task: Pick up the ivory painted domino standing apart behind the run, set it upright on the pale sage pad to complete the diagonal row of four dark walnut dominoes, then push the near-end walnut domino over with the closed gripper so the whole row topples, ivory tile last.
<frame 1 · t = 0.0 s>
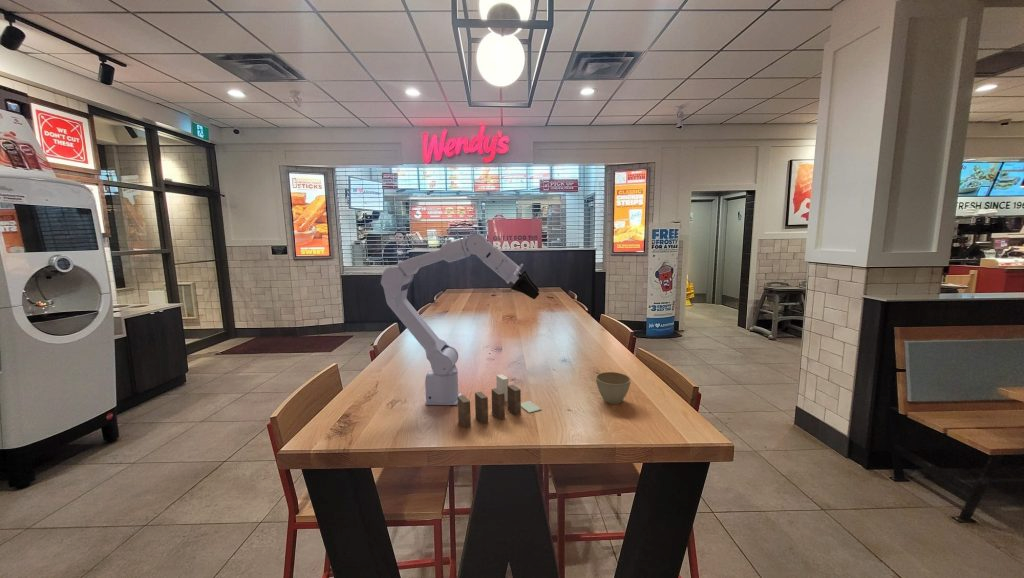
hand: (537, 294, 112), 32 cm above the table, tool tilted 50°, fingers open, 7 cm apart
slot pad: (529, 407, 112), on the table
domino 1: (464, 424, 102), on the table
domino 3: (498, 415, 107), on the table
flower pot: (612, 401, 115), on the table
domino 2: (481, 419, 105), on the table
domino 4: (514, 411, 109), on the table
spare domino: (502, 398, 118), on the table
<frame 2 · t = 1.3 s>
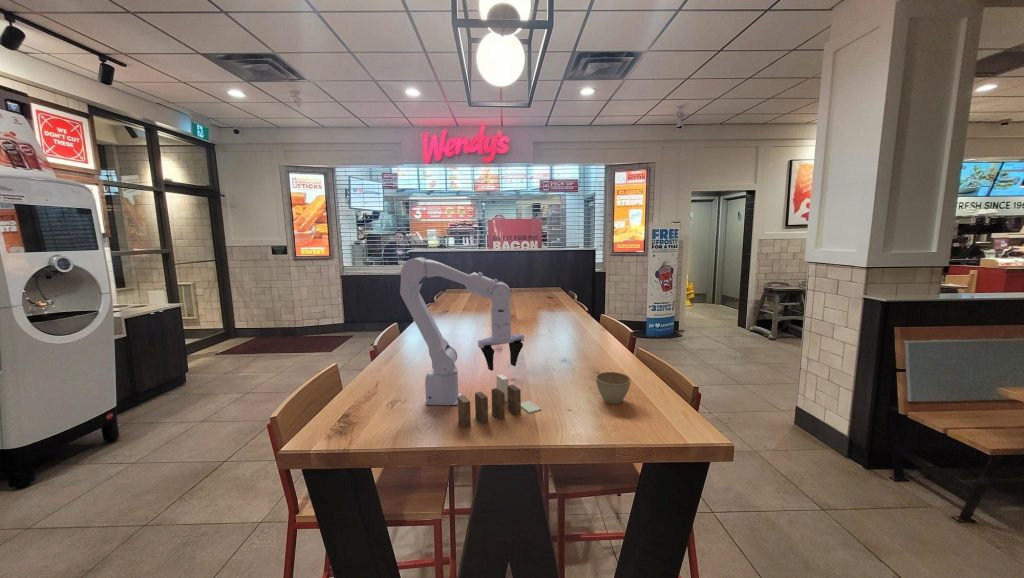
hand: (502, 367, 117), 10 cm above the table, tool pointing down, fingers open, 7 cm apart
nothing on the table moved.
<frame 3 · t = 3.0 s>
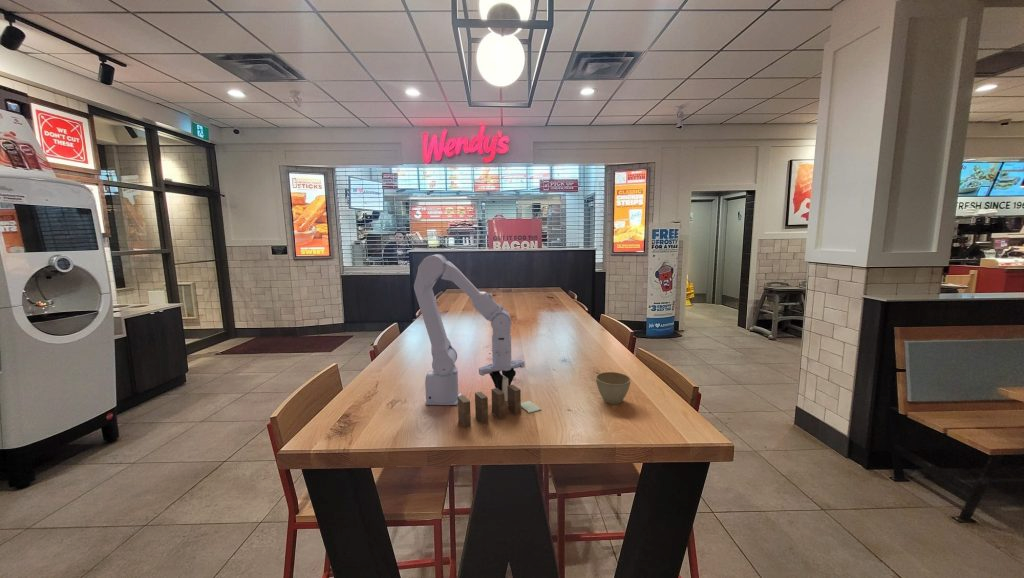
hand: (502, 393, 118), 2 cm above the table, tool pointing down, fingers closed on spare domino, 2 cm apart
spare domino: (502, 398, 118), on the table, touching gripper
everything else where it was.
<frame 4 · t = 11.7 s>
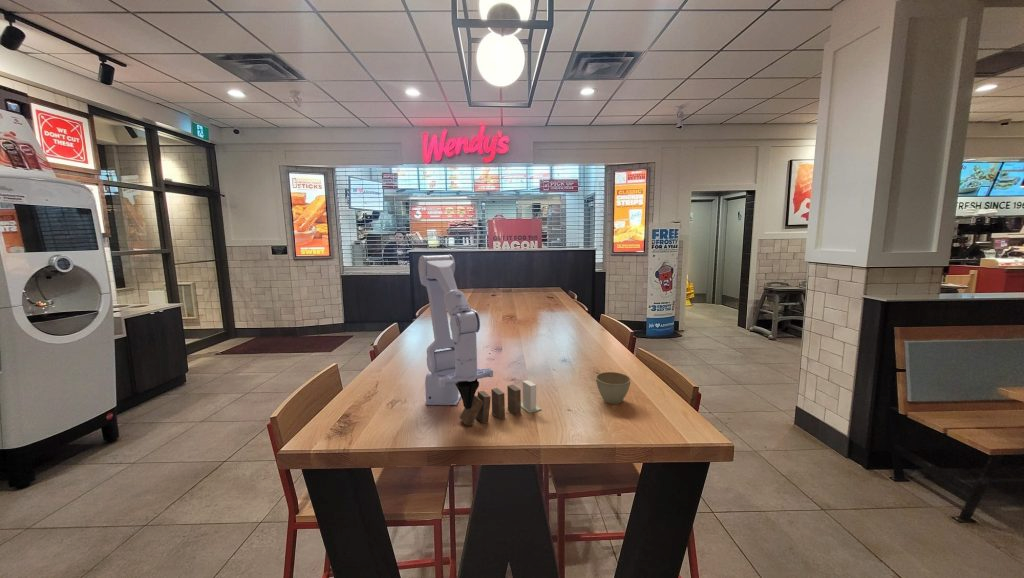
hand: (467, 407, 102), 4 cm above the table, tool pointing down, fingers closed
domino 1: (465, 422, 102), on the table, tilted 34°, touching domino 2
domino 2: (481, 419, 105), on the table, tilted 7°, touching domino 1
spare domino: (529, 406, 112), resting on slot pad
everything else where it was.
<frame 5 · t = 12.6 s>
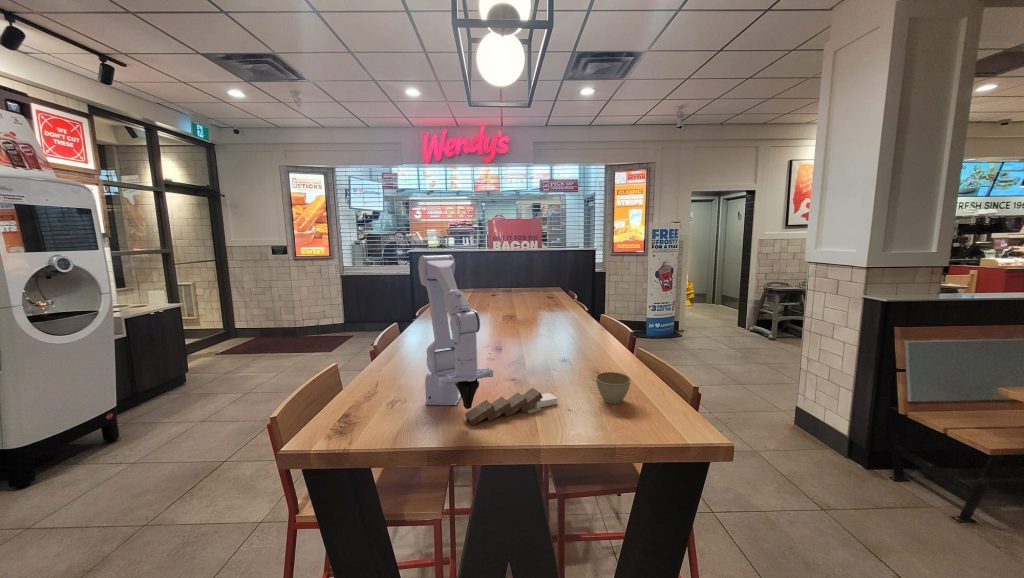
hand: (467, 407, 102), 4 cm above the table, tool pointing down, fingers closed
domino 1: (468, 419, 103), point 1 cm above the table, tilted 68°, touching domino 2
domino 3: (502, 411, 107), point 1 cm above the table, tilted 68°, touching domino 2, domino 4
domino 2: (485, 415, 105), point 1 cm above the table, tilted 69°, touching domino 1, domino 3
domino 4: (518, 407, 110), point 1 cm above the table, tilted 64°, touching domino 3, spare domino
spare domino: (532, 402, 112), point 1 cm above the table, tilted 93°, touching domino 4, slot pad
everything else where it was.
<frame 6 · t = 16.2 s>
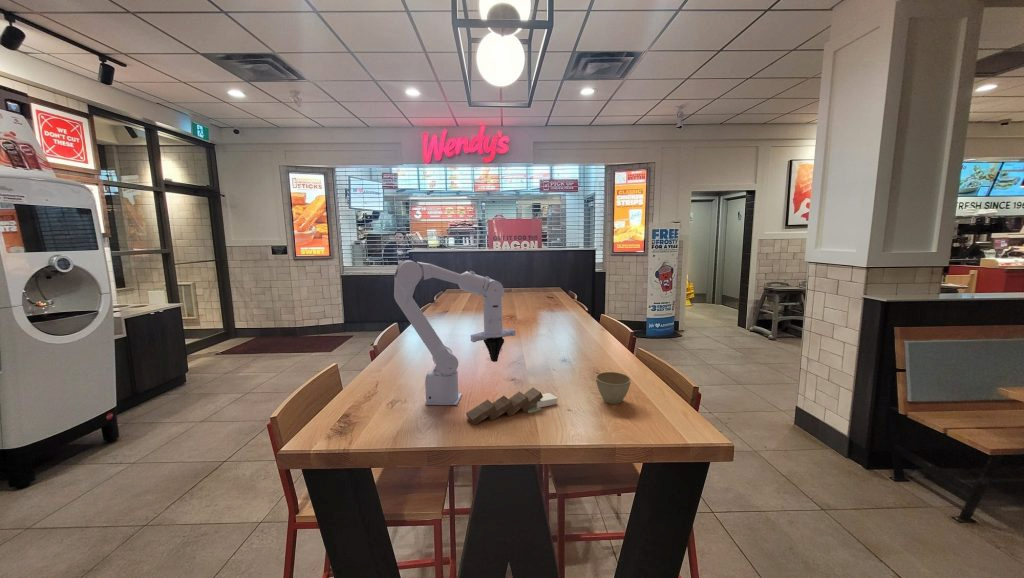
hand: (494, 360, 121), 10 cm above the table, tool pointing down, fingers closed
at the end: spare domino tilted 93°; domino 4 tilted 63°; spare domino inside the target area (1.3 cm from its centre), point 1.2 cm above the table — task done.
